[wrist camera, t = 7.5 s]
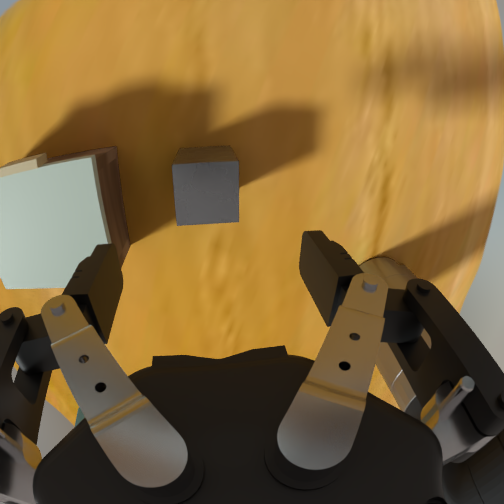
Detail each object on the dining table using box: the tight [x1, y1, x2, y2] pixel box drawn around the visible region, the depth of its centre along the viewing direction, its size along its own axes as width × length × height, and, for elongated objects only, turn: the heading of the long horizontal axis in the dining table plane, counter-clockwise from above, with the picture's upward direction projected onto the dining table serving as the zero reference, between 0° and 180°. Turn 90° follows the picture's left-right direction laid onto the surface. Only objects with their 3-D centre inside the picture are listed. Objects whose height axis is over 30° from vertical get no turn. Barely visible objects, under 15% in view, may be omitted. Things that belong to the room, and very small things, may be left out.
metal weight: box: [172, 146, 239, 226], centre depth 23 cm, size 4×4×7 cm
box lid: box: [0, 153, 112, 289], centre depth 19 cm, size 13×11×2 cm
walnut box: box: [45, 146, 130, 267], centre depth 22 cm, size 12×10×6 cm
